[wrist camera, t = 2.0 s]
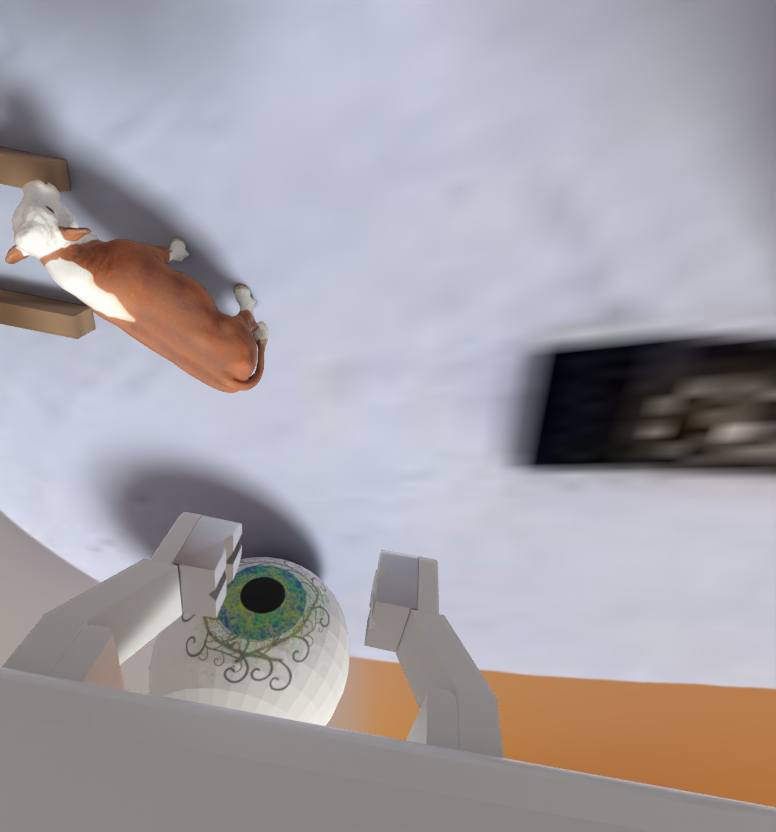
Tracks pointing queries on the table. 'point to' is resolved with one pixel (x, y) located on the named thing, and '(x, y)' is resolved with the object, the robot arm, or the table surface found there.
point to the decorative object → (260, 647)
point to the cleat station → (28, 308)
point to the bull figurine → (142, 292)
